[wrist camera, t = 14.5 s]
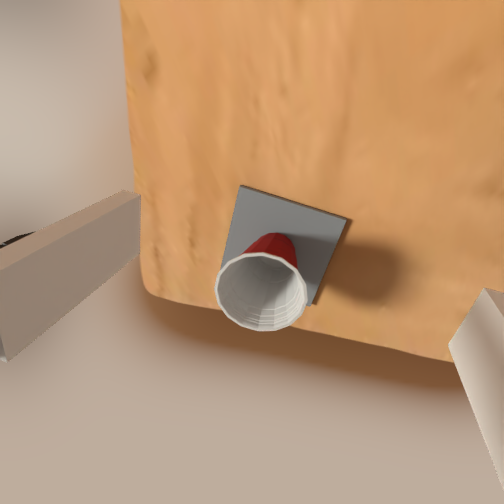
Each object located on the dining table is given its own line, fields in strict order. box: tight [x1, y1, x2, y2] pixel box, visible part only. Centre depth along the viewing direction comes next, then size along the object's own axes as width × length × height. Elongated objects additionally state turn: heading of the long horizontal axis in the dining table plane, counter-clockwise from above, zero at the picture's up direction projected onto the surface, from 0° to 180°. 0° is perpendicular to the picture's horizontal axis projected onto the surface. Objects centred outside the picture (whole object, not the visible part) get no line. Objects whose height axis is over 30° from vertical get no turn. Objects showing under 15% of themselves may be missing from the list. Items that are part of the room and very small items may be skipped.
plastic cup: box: [214, 233, 308, 331], centre depth 43 cm, size 11×11×12 cm
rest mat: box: [220, 185, 347, 306], centre depth 49 cm, size 15×15×1 cm
